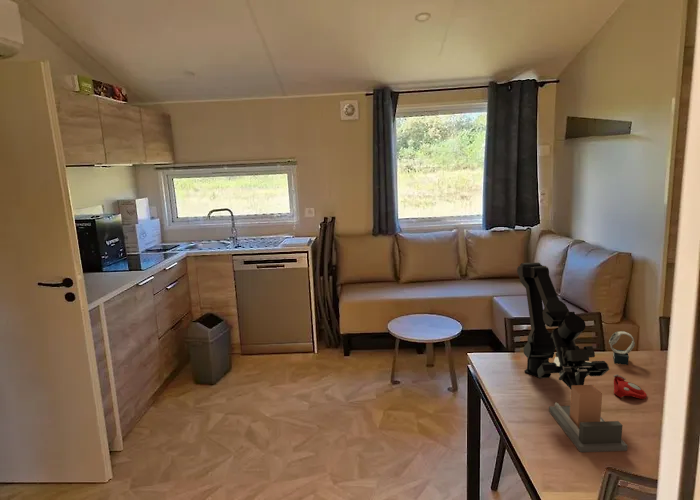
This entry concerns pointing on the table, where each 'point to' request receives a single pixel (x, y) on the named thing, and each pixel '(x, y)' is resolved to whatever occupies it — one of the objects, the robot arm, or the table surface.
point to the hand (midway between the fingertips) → (580, 399)
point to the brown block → (585, 404)
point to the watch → (620, 355)
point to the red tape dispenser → (627, 388)
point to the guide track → (575, 438)
